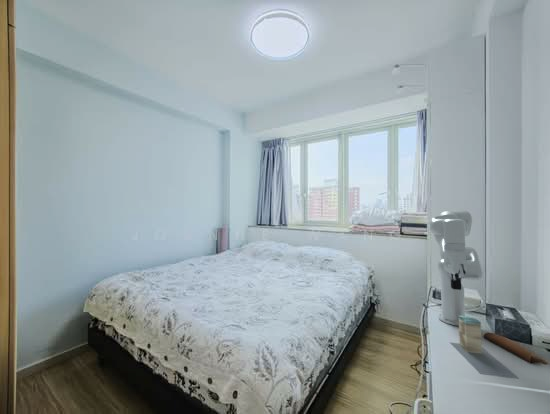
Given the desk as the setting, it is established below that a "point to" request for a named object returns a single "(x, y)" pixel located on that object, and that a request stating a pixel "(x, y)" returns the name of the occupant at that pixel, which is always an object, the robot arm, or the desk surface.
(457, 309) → the robot arm
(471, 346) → the wooden block
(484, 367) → the charcoal mat
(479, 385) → the desk surface
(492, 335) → the sunglasses case
